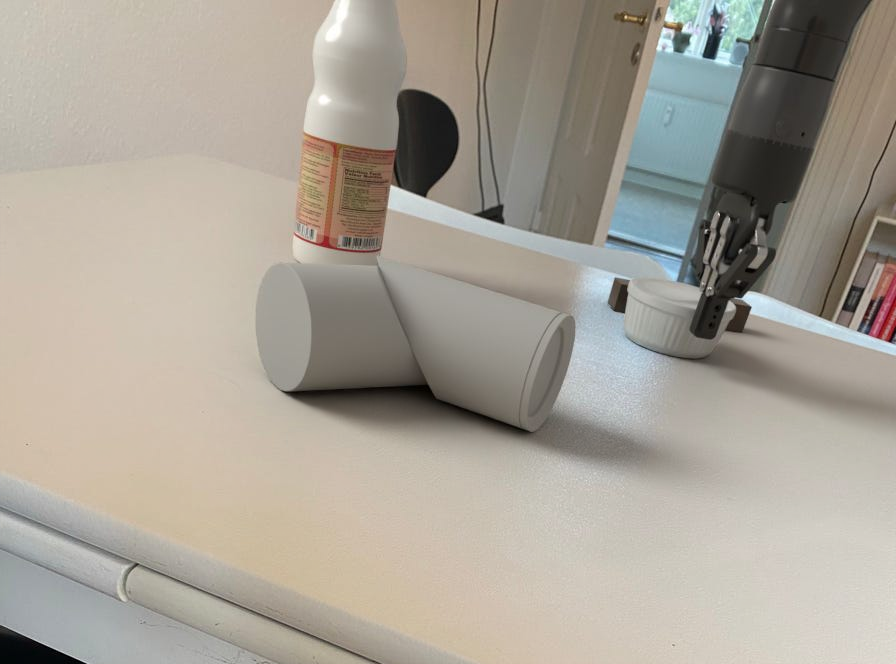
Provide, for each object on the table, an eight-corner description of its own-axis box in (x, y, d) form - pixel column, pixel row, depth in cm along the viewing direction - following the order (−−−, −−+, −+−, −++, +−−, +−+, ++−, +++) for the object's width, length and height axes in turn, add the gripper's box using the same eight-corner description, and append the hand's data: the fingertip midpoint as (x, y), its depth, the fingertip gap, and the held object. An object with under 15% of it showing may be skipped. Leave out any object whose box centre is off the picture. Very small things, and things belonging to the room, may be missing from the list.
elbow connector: (452, 335, 79) (240, 337, 68) (495, 215, 72) (265, 197, 61) (569, 462, 70) (347, 488, 59) (631, 340, 63) (391, 345, 52)
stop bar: (732, 325, 109) (742, 299, 107) (742, 332, 106) (752, 306, 104) (606, 303, 106) (614, 277, 104) (613, 310, 103) (621, 283, 102)
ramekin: (706, 371, 89) (726, 317, 86) (600, 338, 92) (616, 284, 89) (727, 350, 98) (746, 300, 95) (630, 320, 101) (645, 271, 98)
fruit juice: (276, 260, 95) (305, -75, 79) (311, 247, 102) (344, -61, 87) (360, 283, 93) (406, -54, 78) (389, 268, 101) (437, -42, 85)
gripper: (848, 153, 73) (763, 364, 83) (780, 134, 84) (712, 323, 93) (763, 134, 72) (687, 351, 81) (705, 118, 83) (644, 311, 92)
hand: (700, 336), depth 87 cm, fingers closed
